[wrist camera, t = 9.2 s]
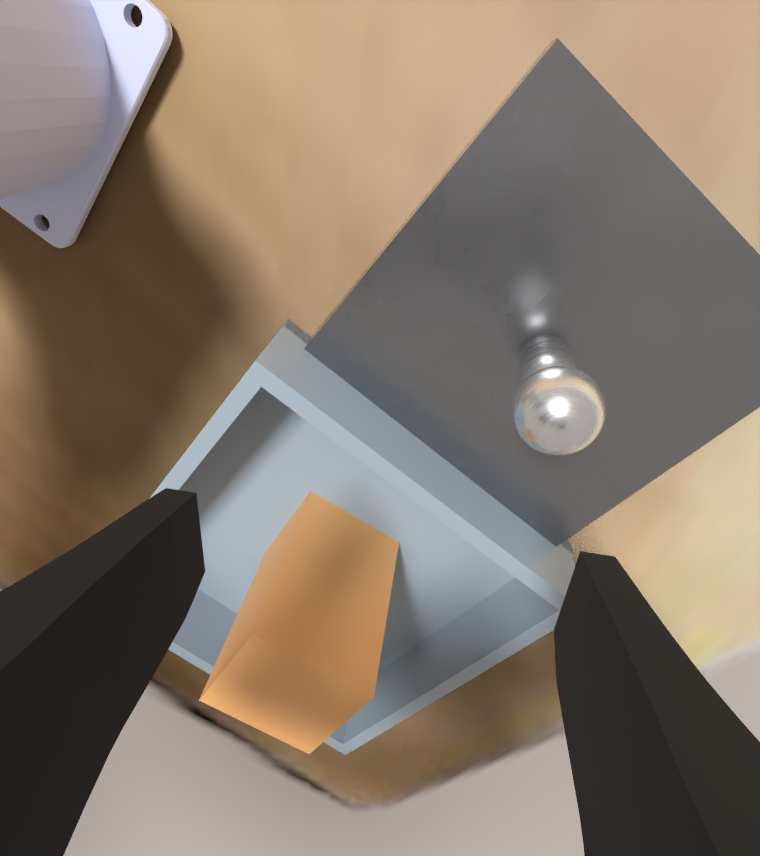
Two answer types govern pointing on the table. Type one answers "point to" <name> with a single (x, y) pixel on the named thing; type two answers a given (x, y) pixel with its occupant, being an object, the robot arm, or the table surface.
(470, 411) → the stud plate
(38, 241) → the table surface
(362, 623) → the orange rectangular block
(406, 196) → the table surface
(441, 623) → the slate bin
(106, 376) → the table surface
